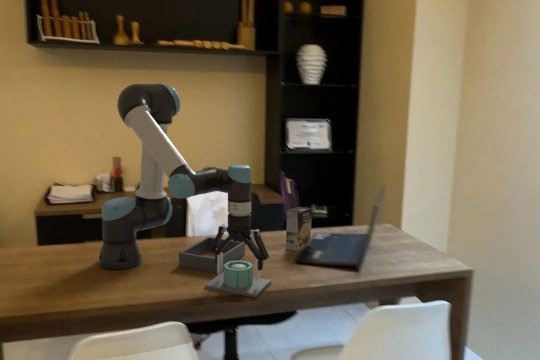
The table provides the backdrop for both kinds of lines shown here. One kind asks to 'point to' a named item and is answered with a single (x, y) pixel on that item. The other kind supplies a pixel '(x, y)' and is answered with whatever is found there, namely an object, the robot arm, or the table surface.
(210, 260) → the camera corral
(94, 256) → the table surface
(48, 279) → the table surface
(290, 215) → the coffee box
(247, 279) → the collar
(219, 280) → the stand
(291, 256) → the table surface
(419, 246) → the table surface
